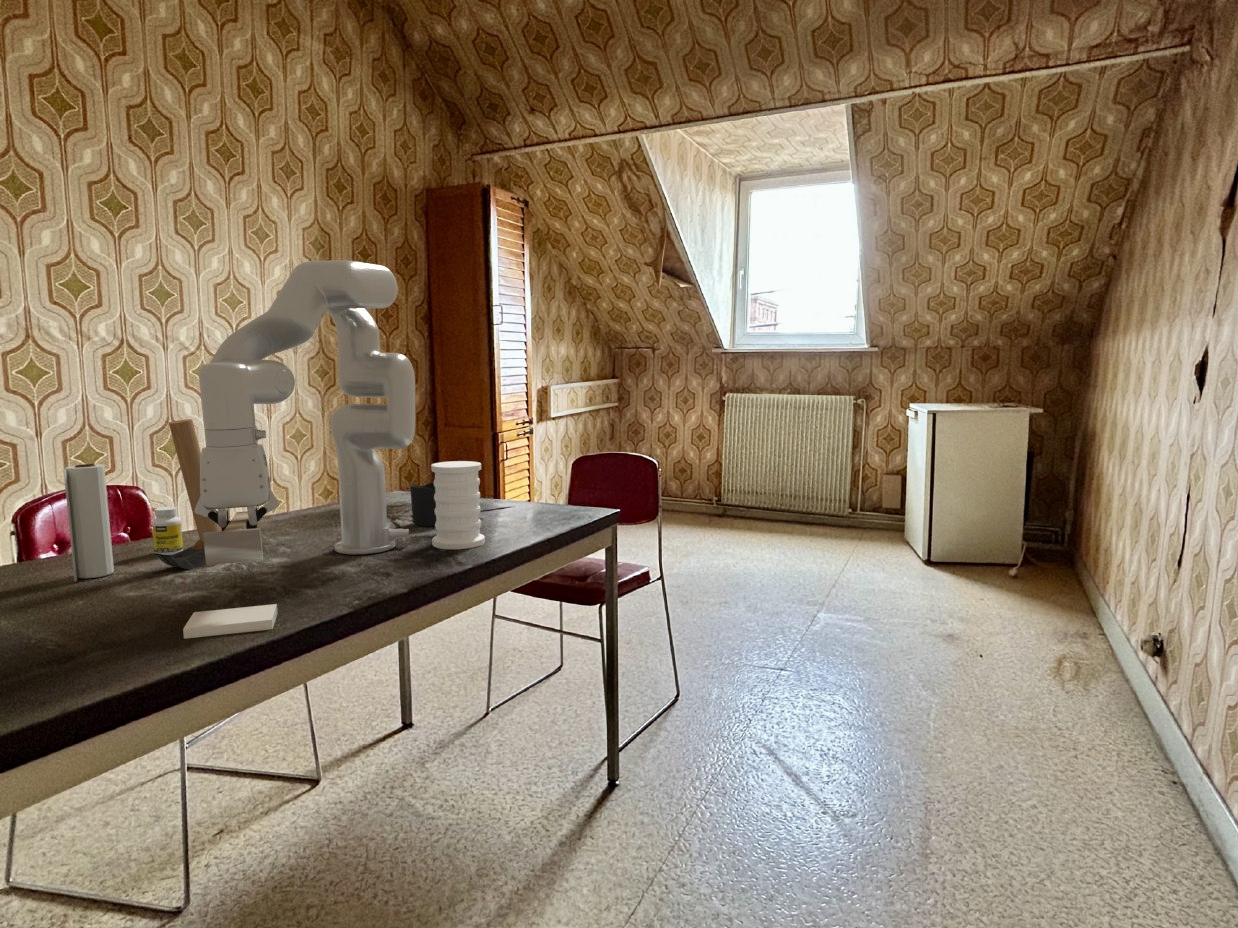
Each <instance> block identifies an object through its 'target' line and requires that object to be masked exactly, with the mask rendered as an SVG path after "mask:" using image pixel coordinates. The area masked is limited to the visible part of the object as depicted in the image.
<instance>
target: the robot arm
mask: <svg viewBox="0 0 1238 928" xmlns="http://www.w3.org/2000/svg"><path fill="white" fill-rule="evenodd" d="M398 291H399V290H398V283H397V279H396V276H394V274H393V272H392V271H391V270H390V269H389V268H388V267H386V266H384V265H382V264H381V265H380V264H374V263H367V262H361V261H357V260H352V259H351V260H349V259H348V260H347V259H338V260H337V259H336V260H332V259H331V260H328V259H327V260H309V261H304V262H301V263H299V264H298V265H296V266H295V267H294V268H293V269H292V271H291V272H290V274H289V275H288V277H287V279H286V281H285V283H284V284H283V286H282V287H281V289H280V291H279V292H278V294H277V296H275V299H274V300H273V302H272V303H271V306H270V307H269V308H268V310H267V311H266V312H264V313H263V314H260V315H259V316H257V317H256V318H254V319H252V320H250V321H249V322H247V323H246V324H245V325H243V326H241V327H240V328H238V329H236V330H235V331H234V332H233V333H231V334H230V335H229V336H228V337H227V338H226V339H224V341H223V342H222V343H221V344H220V346H219V347H218V348H217V350H216V352H215V353H214V355H213V356H212V358H211V360H210V361H209V363H205V364H203V365H201V366H200V367H199V369H198V379H199V380H198V382H199V390H200V391H199V392H200V400H201V411H202V419H203V421H202V422H203V429H204V442H205V447H202V448H201V450H200V451H201V460H200V494H201V496H200V498H199V500H198V503H197V505H196V507H195V510H194V512H195V513H196V514H199V515H202V516H205V517H209V518H210V519H211V520H213V521H214V522H215V523H217V524H218V525H219V527H220V528H221V531H224V530H225V529H226V527H227V526H228V524H229V523H230V521H231V519H230V513H229V511H230V510H229V509H236V508H237V509H238V508H246V511H248V518H249V520H248V525H247V529H255V528H258V522H259V521H260V520H262V518H263V517H265V515H266V514H268V513H270V512H271V511H275V510H276V509H278V508H279V506H280V501H279V500H278V499H277V497H276V495H275V494H274V492H273V491H272V486H271V485H272V484H271V479H270V470H269V466H268V460H267V456H266V451H265V448H264V446H263V444H262V443H261V444H259V443H258V441H259V440H262V439H266V438H267V431H266V430H265V429H264V430H261V429H259V428H258V427H257V425H256V416H255V405H273V404H279V403H282V402H284V401H286V400H287V399H288V398H290V397H291V395H293V392H294V390H295V386H296V379H295V376H294V373H293V371H292V370H291V369H290V368H289V366H288V365H286V364H284V363H283V362H281V361H278V360H272V359H265V358H267V357H270V356H272V355H275V354H277V353H281V352H284V351H288V350H290V349H293V348H296V347H298V346H300V345H303V344H305V343H306V342H308V341H310V339H311V338H312V337H313V336H314V333H315V332H316V330H317V329H318V326H319V325H320V323H321V321H322V320H323V317H324V315H325V313H326V312H327V313H328V314H329V316H330V317H331V319H332V320H333V322H334V325H335V329H336V334H337V366H338V367H337V372H338V373H337V374H338V376H337V377H338V384H339V389H340V390H341V392H342V393H343V394H344V395H346V396H349V397H353V398H368V399H369V398H371V399H372V398H376V399H377V398H380V399H382V398H384V399H385V400H386V404H385V403H384V404H382V403H380V404H379V403H351V404H346V405H342V406H340V407H339V408H337V409H335V411H334V412H333V414H332V416H331V418H330V432H331V435H332V438H333V444H334V447H335V453H336V457H337V458H336V459H337V469H338V488H339V491H338V492H339V493H338V494H339V508H340V510H339V511H340V512H339V513H340V527H341V528H340V529H341V541H338V542H337V543H335V544H334V551H335V552H337V553H338V554H343V555H369V554H370V555H371V554H377V553H383V552H386V551H389V550H392V549H393V548H395V546H396V540H395V539H408V538H409V539H410V530H409V528H405V529H404V528H395V529H394V528H391V527H390V525H389V523H388V518H387V517H388V515H387V496H386V495H387V491H386V473H385V472H386V471H385V466H384V463H383V460H382V458H381V457H380V455H379V454H378V452H377V451H376V450H375V449H378V450H379V449H381V450H382V449H385V450H387V449H388V450H390V449H391V450H396V449H398V450H399V449H404V448H407V447H409V446H410V444H411V443H413V440H414V437H415V431H416V378H415V377H416V376H415V370H414V367H413V365H412V363H411V361H410V359H409V357H407V356H406V355H404V354H401V353H397V352H381V344H380V330H379V326H378V325H377V323H376V321H375V319H374V318H373V316H372V315H371V314H370V313H369V312H368V311H367V309H386V308H389V307H390V306H391V305H393V304H394V302H395V301H396V299H397V296H398ZM260 506H261V507H260ZM259 507H260V508H259ZM212 509H216V510H212Z"/></svg>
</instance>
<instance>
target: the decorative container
mask: <svg viewBox="0 0 1238 928" xmlns="http://www.w3.org/2000/svg"><path fill="white" fill-rule="evenodd" d="M430 467H431V469H430V470H431V472H433V473H434V480H433V482H434V487H435V494H434V499H435V501H436V508H435V511H434V512H435V515H436V523H435V526H434V528H435V530H436V535H435V536H434V537H432V540H431V541H432V543H431V544H432V546H433V547H434V548H437V549H441V550H465V549H466V550H467V549H472V548H473V549H474V548H477V547H481V546H482V545H484V544H485V543H486V539H485V538H486V536H485V535H484V534H482V533H481V529H480V528H481V527H482V521H481V519H480V514H481V511H482V508H481V505H480V500H481V492H480V489H479V486H480V483H481V479H480V477H479V471H481V470H482V463H481V462H478V461H470V460H469V461H468V460H457V461H456V460H455V461H454V460H453V461H441V462H440V461H439V462H435V463H431V465H430Z"/></svg>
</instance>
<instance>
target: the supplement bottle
mask: <svg viewBox="0 0 1238 928" xmlns="http://www.w3.org/2000/svg"><path fill="white" fill-rule="evenodd" d="M177 510H178V509H177V507H175V506H163V507H157V508H155V509H154V515H155V517H156V518H154V519H153V520H152V523H151V527H152V528H151V529H152V540H153V554H154V553H158V554H162V555H169V556H170V555H173V554H176V553H178V552H180V551H183V550H184V543H183V542H184V541H183V528H182V527H183V526H182V520H181V518H180V517H179V516H177V514H178V513H177V512H178V511H177Z"/></svg>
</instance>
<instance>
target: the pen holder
mask: <svg viewBox="0 0 1238 928" xmlns="http://www.w3.org/2000/svg"><path fill="white" fill-rule="evenodd" d="M409 487H410V490H409V491H410V500H411V501H410V502H411V513H412V514H411V515H412V522H413V523H412V524H413V525H414V526H416V527H422V528H424V527H425V528H432V527H433V528H435V523H436V515H435V512H434V511H435V508H436V501H435V499H434V494H435V487H434V481H432V482H429V483H426V484H423V485H417V484H410V485H409Z"/></svg>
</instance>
